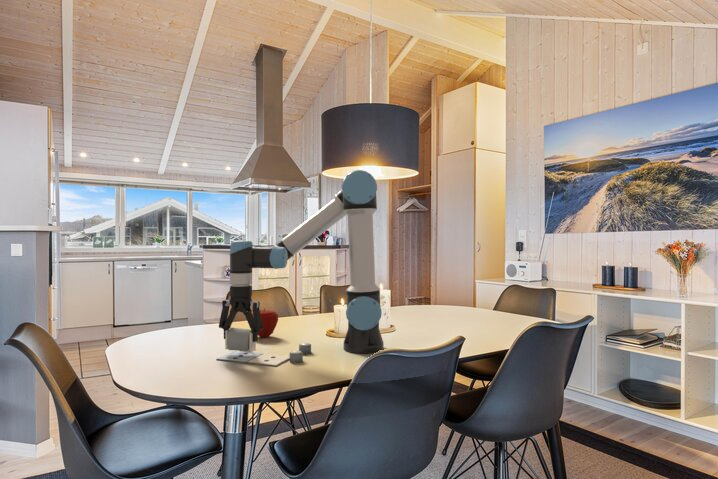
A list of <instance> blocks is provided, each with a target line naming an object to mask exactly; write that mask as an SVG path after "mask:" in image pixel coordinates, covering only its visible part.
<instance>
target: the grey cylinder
mask: <svg viewBox="0 0 718 479" xmlns="http://www.w3.org/2000/svg"><path fill="white" fill-rule="evenodd" d="M251 332H252V331H251V329H248V328H239V327H230V330H229V332H228V336H227V348H228V349H227V350H228V351H243V352H248V351H249V344H250V333H251Z"/></svg>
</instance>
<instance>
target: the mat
mask: <svg viewBox="0 0 718 479" xmlns="http://www.w3.org/2000/svg"><path fill="white" fill-rule="evenodd" d="M216 361H219V362H220V361H222V362H230V363H238V364H245V365H246V364H248V365H258V366H266V367H274V368H277V367H279V366H281V365H283V364H284V363H286V362H287V361H290V355H281V354H270V353H262V352H254V351H253V352H249V351H244V350H234V351H232V352H230V353H227V354H224V355H222V356H220V357H218V358H216Z"/></svg>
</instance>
